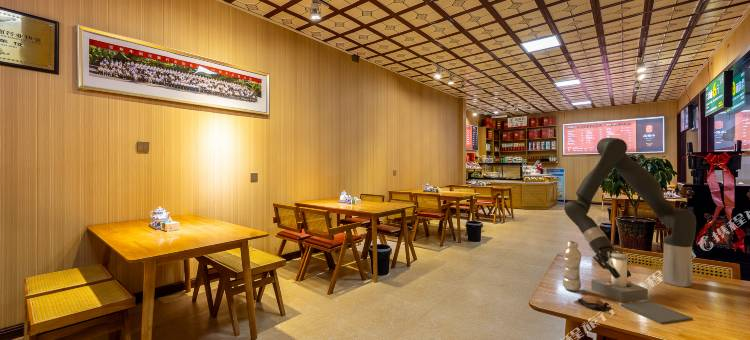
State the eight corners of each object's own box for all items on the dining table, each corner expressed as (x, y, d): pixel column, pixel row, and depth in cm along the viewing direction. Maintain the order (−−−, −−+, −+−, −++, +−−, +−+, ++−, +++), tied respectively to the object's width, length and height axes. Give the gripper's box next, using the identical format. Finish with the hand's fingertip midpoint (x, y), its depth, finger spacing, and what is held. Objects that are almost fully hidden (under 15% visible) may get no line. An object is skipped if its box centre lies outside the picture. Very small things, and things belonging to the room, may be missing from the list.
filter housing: (616, 286, 141) (616, 275, 141) (647, 299, 129) (648, 286, 129) (591, 289, 138) (591, 278, 138) (621, 302, 126) (621, 289, 126)
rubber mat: (649, 302, 126) (649, 300, 126) (692, 319, 112) (692, 317, 112) (620, 305, 122) (620, 304, 122) (660, 323, 109) (660, 322, 109)
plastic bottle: (583, 293, 134) (584, 244, 133) (565, 292, 135) (566, 243, 135) (577, 287, 140) (578, 240, 140) (560, 286, 142) (561, 240, 141)
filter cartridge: (617, 290, 137) (618, 252, 136) (630, 296, 131) (631, 256, 131) (606, 292, 136) (607, 253, 135) (619, 297, 130) (620, 257, 130)
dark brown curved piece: (571, 304, 125) (571, 294, 125) (582, 299, 130) (582, 290, 129) (603, 315, 116) (603, 305, 116) (613, 309, 121) (614, 299, 121)
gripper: (589, 236, 139) (615, 274, 127) (616, 234, 142) (644, 271, 130) (578, 245, 144) (602, 282, 132) (605, 243, 147) (631, 279, 136)
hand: (623, 276), depth 132 cm, fingers closed on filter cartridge, 5 cm apart
